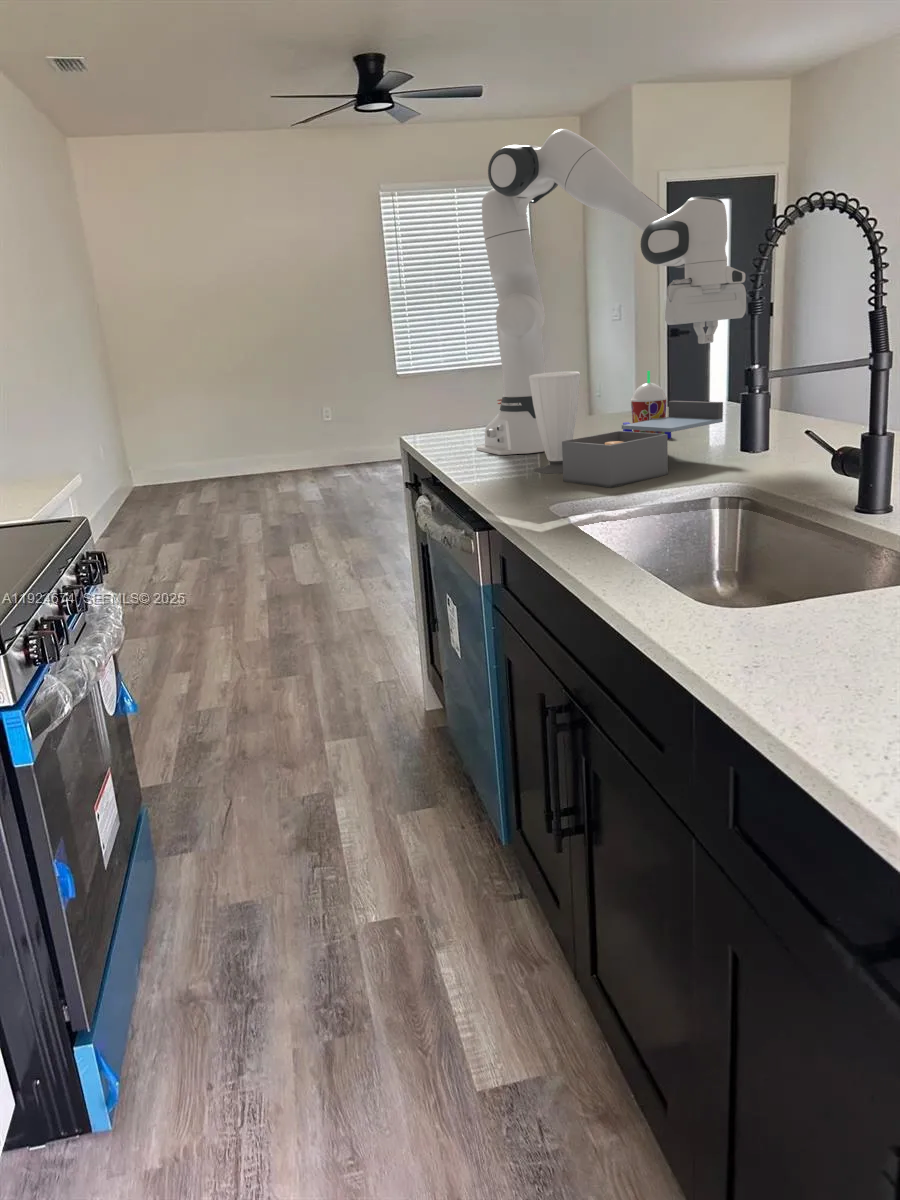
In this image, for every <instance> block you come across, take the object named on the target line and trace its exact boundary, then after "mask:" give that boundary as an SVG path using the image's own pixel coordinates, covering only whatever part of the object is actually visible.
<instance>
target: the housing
mask: <svg viewBox="0 0 900 1200" xmlns="http://www.w3.org/2000/svg"><path fill="white" fill-rule="evenodd" d="M668 439H669V438H668V434H657V433H642V432H627V431H623V430H616V431H612V432H606V433H605V432H604V433H601V434H595V435H589V436H583V437H578V438H573V439H572V440H567V441H562V458H563V473H562V477H563V478H562V479H563V482H567V483H573V484H581V485H587V486H588V485H589V486H595V487H601V488H602V487H604V488H610V489H612V488H615V487H616V488H617V487H621V486H624V485H628V484H633V483H637V482H641V481H646V480H650V479H653V478H654V479H655V478H659V477H662V476H667V475H668V468H669V467H668V466H669V465H668V460H669V459H668V458H669V457H668V456H669V454H668V452H669V450H668V448H669V447H668V445H669V444H668V443H669V441H668ZM611 441H623V443H618V444H613V445H605V443H606V442H611Z"/></svg>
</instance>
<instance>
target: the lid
mask: <svg viewBox="0 0 900 1200" xmlns="http://www.w3.org/2000/svg"><path fill="white" fill-rule="evenodd" d="M723 417H724V402H723V401H695V400H692V401H691V400H670V401H668V416H666V417H665V418H659V419H654V420H648V421H643V422H637V423H633V422H632V423H631V424H626V425H623V424H621V430H623V429H630V430H632V431H633V430H645V431H661V432H671V433H673V432H678V431H684V430H688V429H693V428H699V427H704V426H709V425H713V424H719V423H723V419H724V418H723Z"/></svg>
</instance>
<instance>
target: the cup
mask: <svg viewBox="0 0 900 1200" xmlns="http://www.w3.org/2000/svg"><path fill="white" fill-rule="evenodd" d="M580 379H581V373H580V371H577V370H576V371H554V372H553V371H552V372H546V373H541V374H534V375H530V376H529V381H530V388H531V394H532V400H533V406H534V411H535V416H536V420H537V425H538V429H539V433H540V437H541V441H542V445H543V448H544V451H543V452H544V453H545V456H546V459H547V461H548V463H549V464H548V465H546V466H540V467H541V468H540V467H536V468H537V469H536V468H534V469H535V471H534V472H535V473H537V472H538V474H547V475H548V474H549V475H551V474H554V475H555V474H558V475H559V474H563V458H562V441H567V440H572V439H574V434H575V433H574V432H575V428H576V421H577V412H578V405H579V395H580V384H581V383H580V382H581V381H580Z"/></svg>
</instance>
